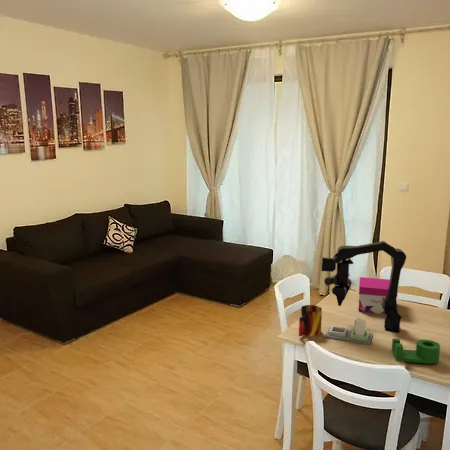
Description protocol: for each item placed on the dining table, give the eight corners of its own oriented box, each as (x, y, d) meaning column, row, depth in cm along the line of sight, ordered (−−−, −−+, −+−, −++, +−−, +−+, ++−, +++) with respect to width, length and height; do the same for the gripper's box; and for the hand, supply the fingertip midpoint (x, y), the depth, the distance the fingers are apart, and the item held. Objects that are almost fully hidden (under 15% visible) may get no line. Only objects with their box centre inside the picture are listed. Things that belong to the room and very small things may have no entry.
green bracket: (435, 354, 195) (436, 340, 194) (441, 364, 186) (443, 349, 185) (391, 351, 198) (392, 337, 197) (395, 360, 189) (396, 346, 188)
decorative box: (357, 313, 242) (359, 286, 239) (358, 302, 259) (359, 277, 257) (395, 317, 236) (397, 290, 233) (393, 305, 254) (395, 280, 251)
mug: (298, 338, 210) (299, 314, 208) (301, 327, 224) (302, 304, 222) (319, 341, 208) (320, 316, 206) (321, 329, 221) (322, 305, 219)
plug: (365, 335, 212) (365, 319, 210) (363, 338, 208) (364, 322, 207) (354, 333, 214) (355, 317, 212) (353, 337, 210) (354, 320, 209)
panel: (372, 335, 214) (372, 330, 214) (369, 345, 203) (369, 340, 203) (330, 328, 222) (330, 323, 222) (324, 337, 212) (325, 332, 211)
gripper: (329, 265, 232) (328, 295, 235) (321, 275, 215) (320, 306, 218) (352, 268, 228) (350, 297, 230) (345, 277, 211) (344, 309, 214)
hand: (341, 302), depth 223 cm, fingers open, 9 cm apart
